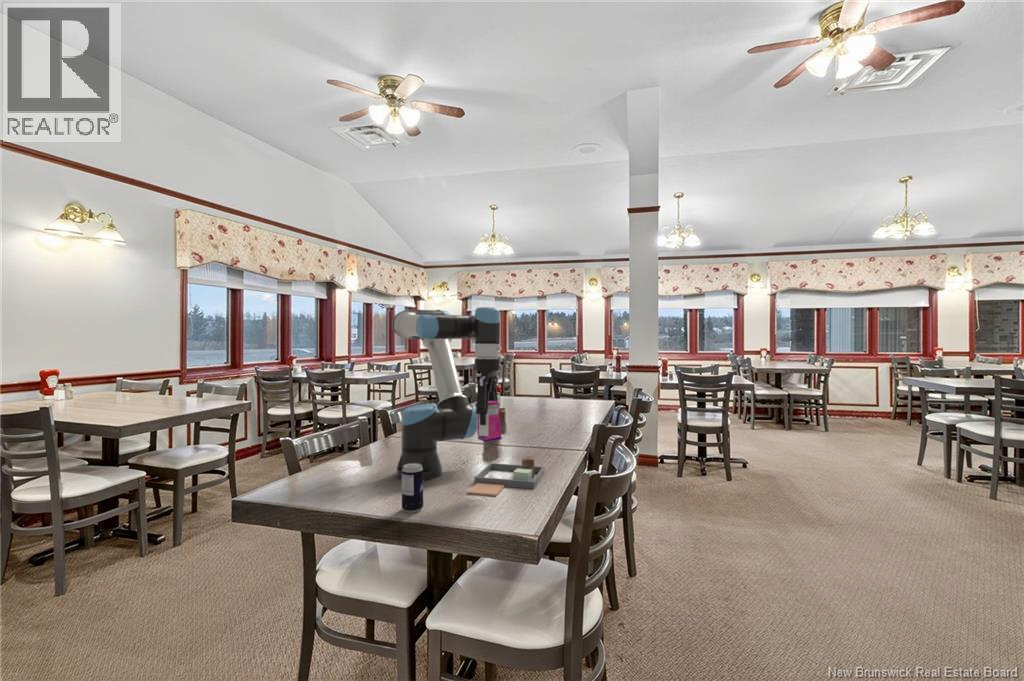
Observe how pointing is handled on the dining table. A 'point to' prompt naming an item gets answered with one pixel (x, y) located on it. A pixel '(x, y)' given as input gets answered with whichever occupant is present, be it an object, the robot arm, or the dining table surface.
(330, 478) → the dining table surface
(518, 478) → the pale green box
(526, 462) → the walnut block
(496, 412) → the supplement box
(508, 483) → the bin
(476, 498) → the dining table surface
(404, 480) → the beverage can
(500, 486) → the pad
